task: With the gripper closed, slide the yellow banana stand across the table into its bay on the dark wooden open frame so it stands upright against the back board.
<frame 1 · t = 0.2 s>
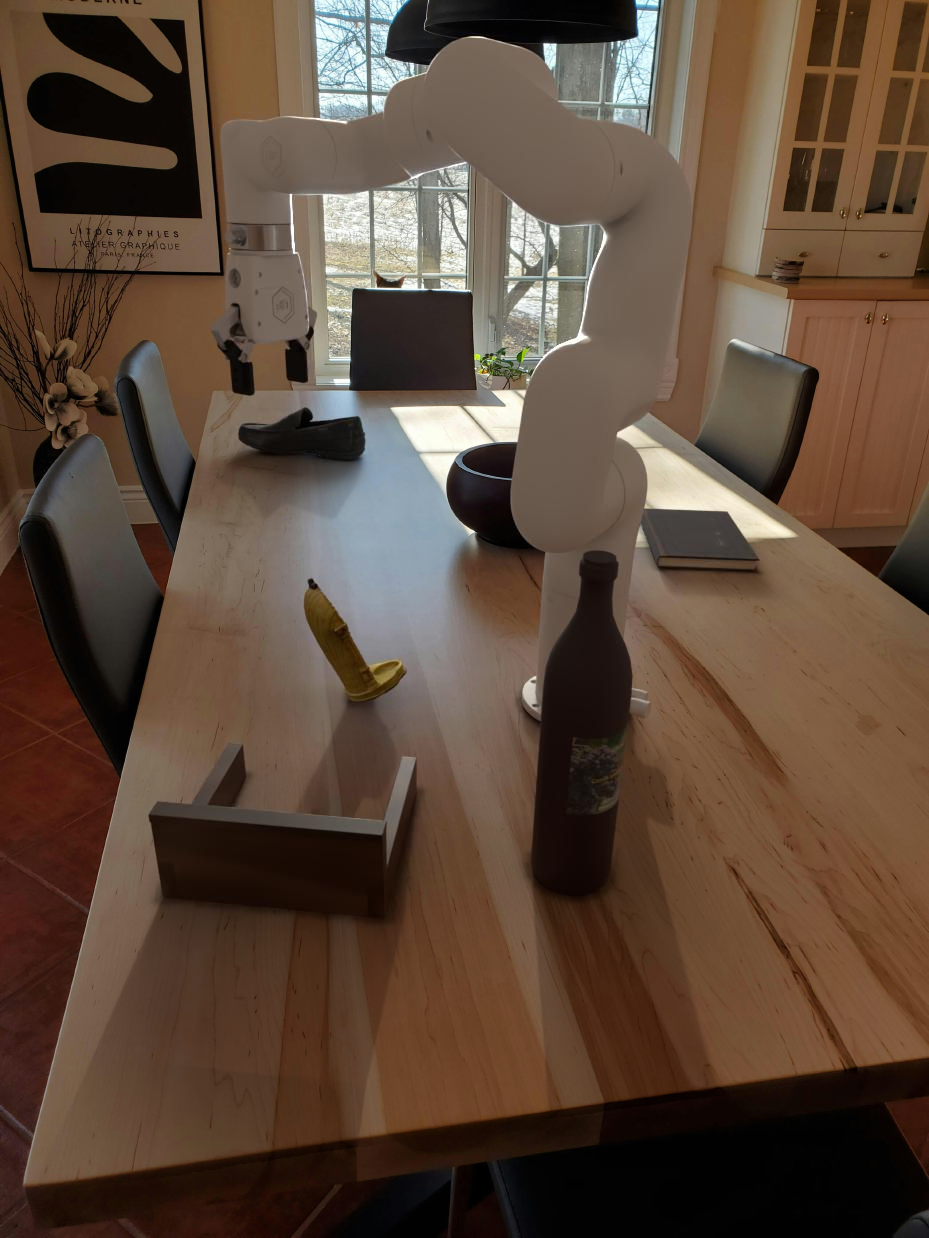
hand: (271, 387, 113), 31 cm above the table, tool pointing down, fingers open, 9 cm apart
hardcover book: (693, 545, 154), on the table
loafer: (303, 453, 200), on the table
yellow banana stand: (358, 697, 106), on the table
wine bottle: (569, 870, 80), on the table
dark wooden open frame: (302, 834, 83), on the table
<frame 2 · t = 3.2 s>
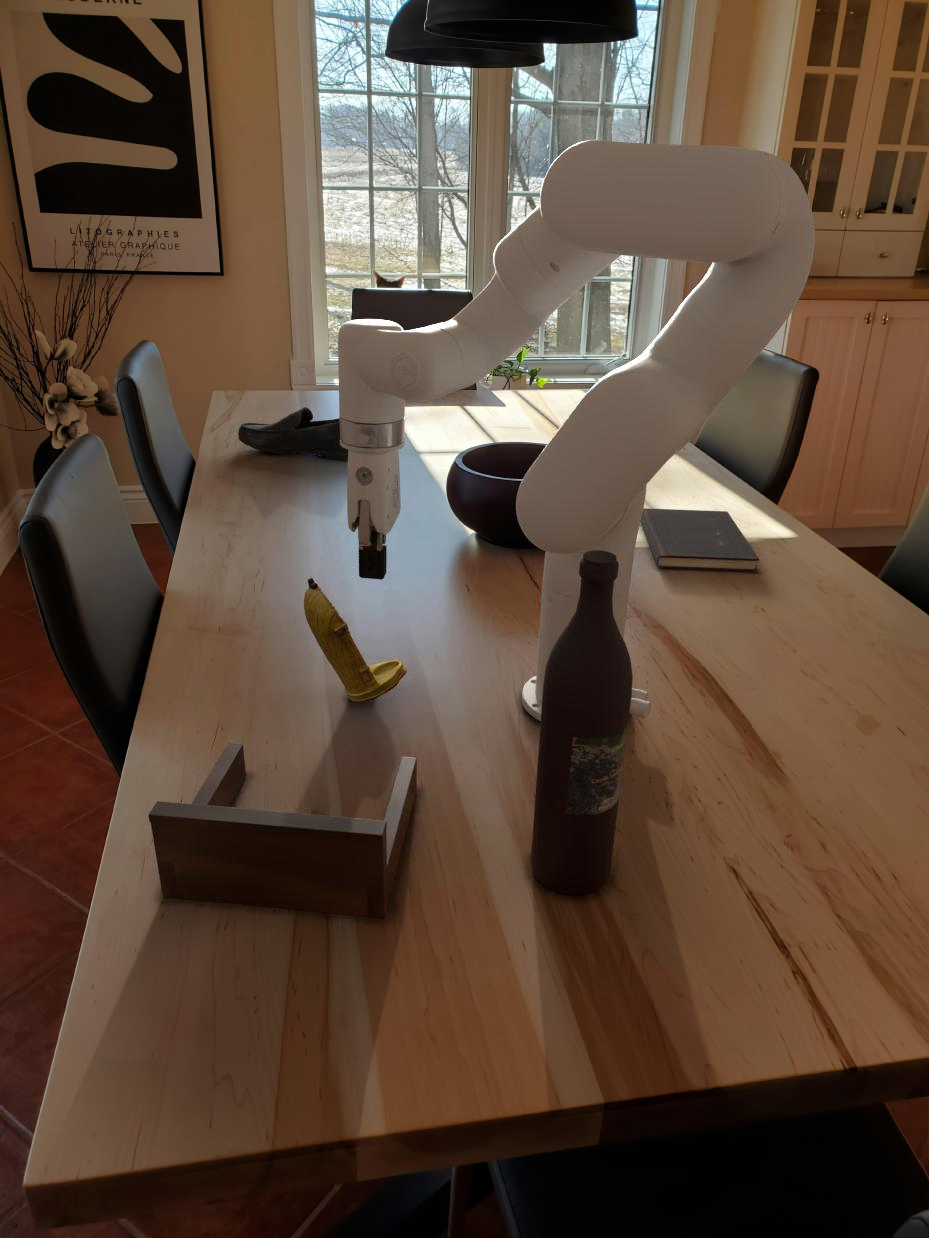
hand: (372, 575, 113), 10 cm above the table, tool pointing down, fingers closed
nothing on the table moved.
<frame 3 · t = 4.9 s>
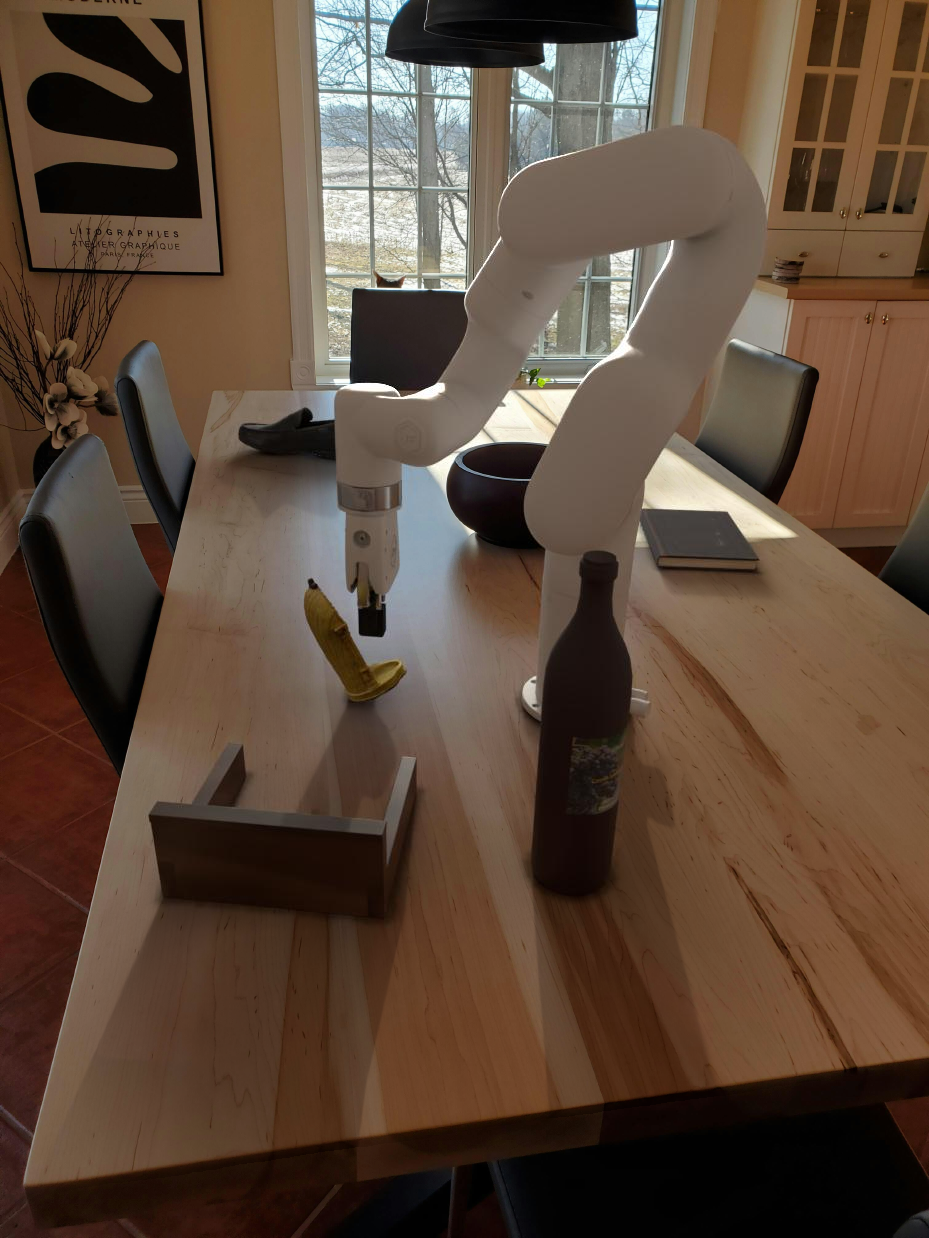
hand: (372, 633, 113), 4 cm above the table, tool pointing down, fingers closed
nothing on the table moved.
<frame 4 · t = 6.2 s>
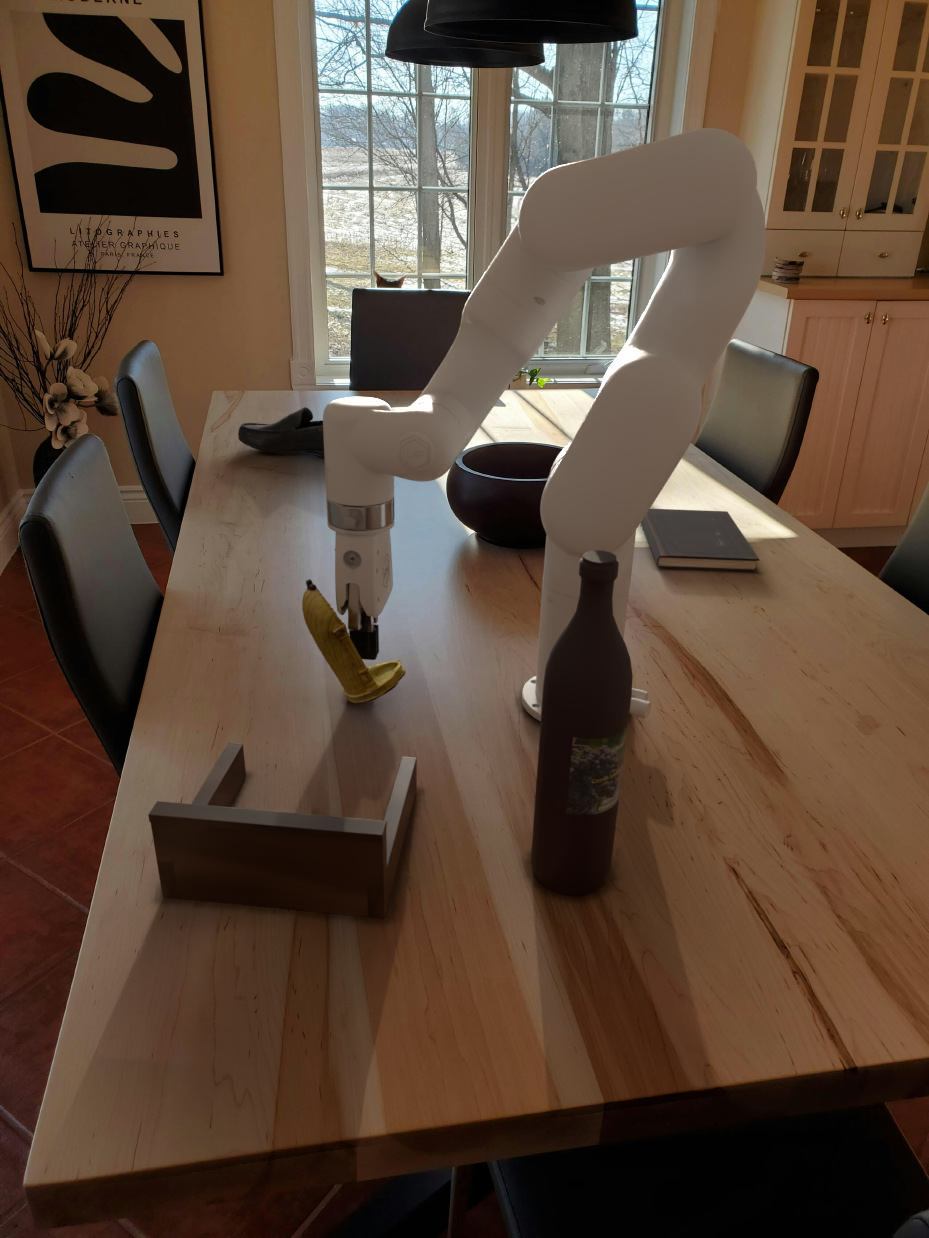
hand: (364, 655, 108), 3 cm above the table, tool pointing down, fingers closed
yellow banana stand: (357, 699, 106), on the table, touching gripper
everything else where it was.
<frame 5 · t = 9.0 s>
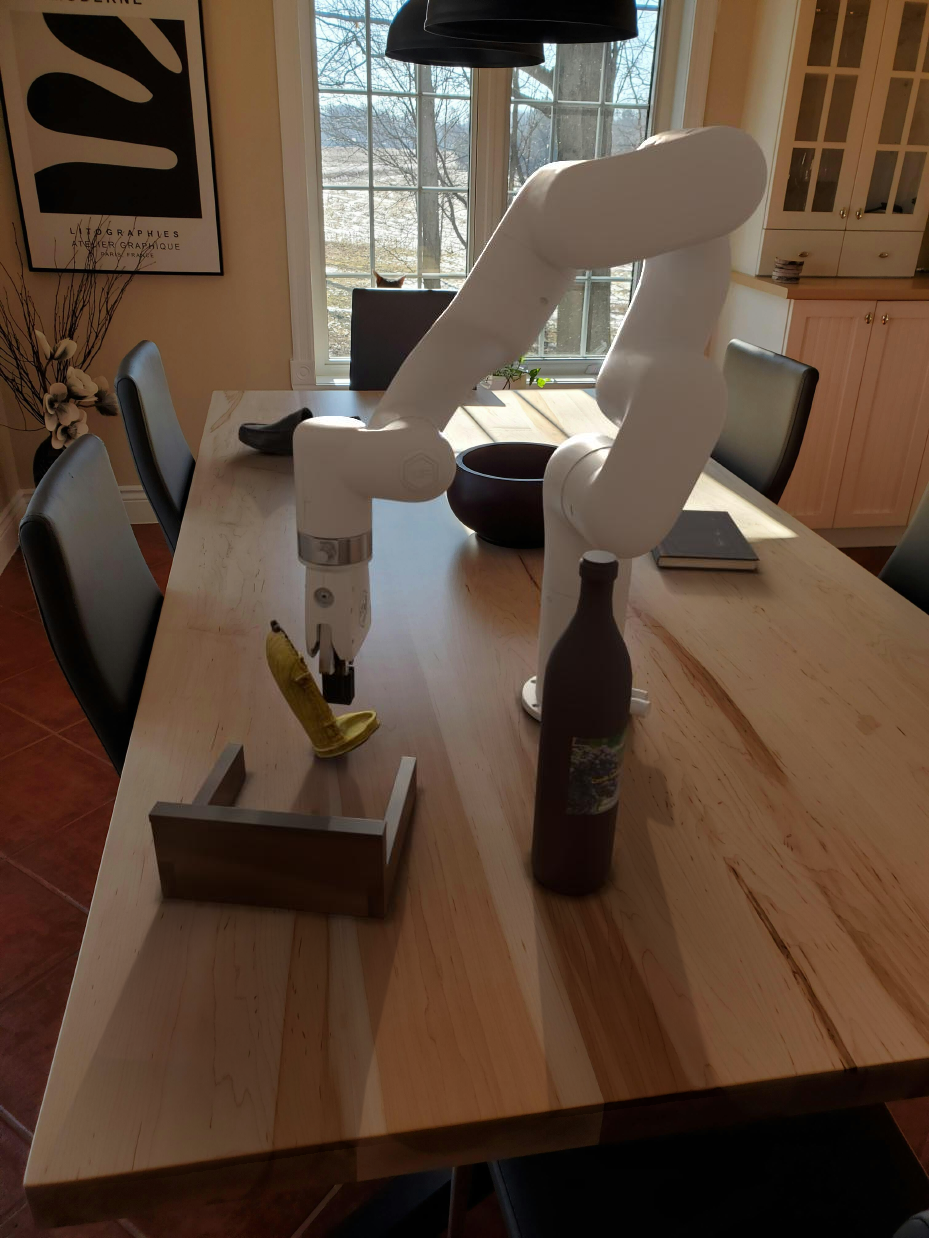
hand: (338, 700, 98), 4 cm above the table, tool pointing down, fingers closed
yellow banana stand: (327, 751, 96), on the table, touching gripper
everything else where it was.
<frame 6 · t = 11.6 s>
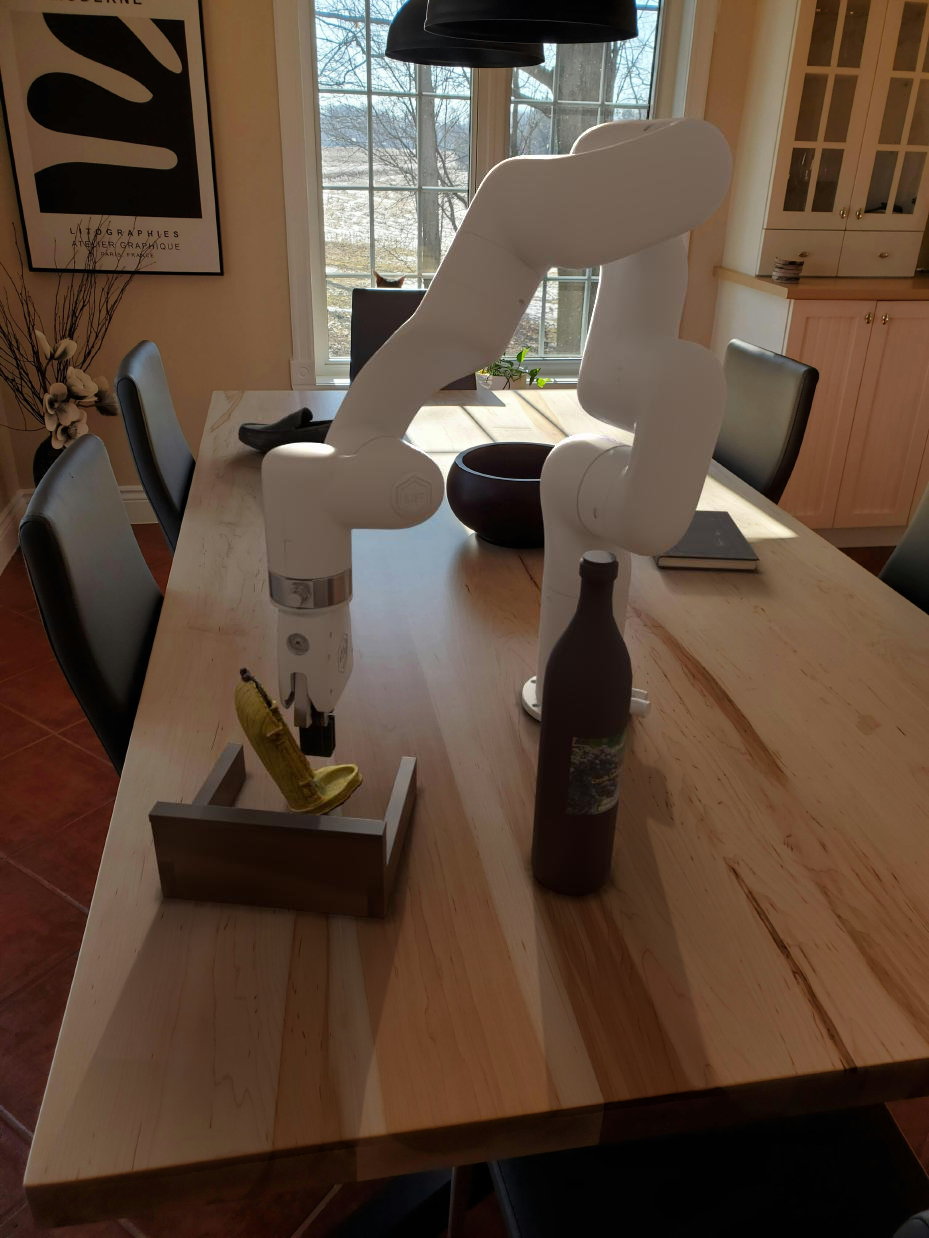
hand: (318, 751, 89), 4 cm above the table, tool pointing down, fingers closed
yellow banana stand: (304, 809, 87), on the table, touching gripper
everything else where it was.
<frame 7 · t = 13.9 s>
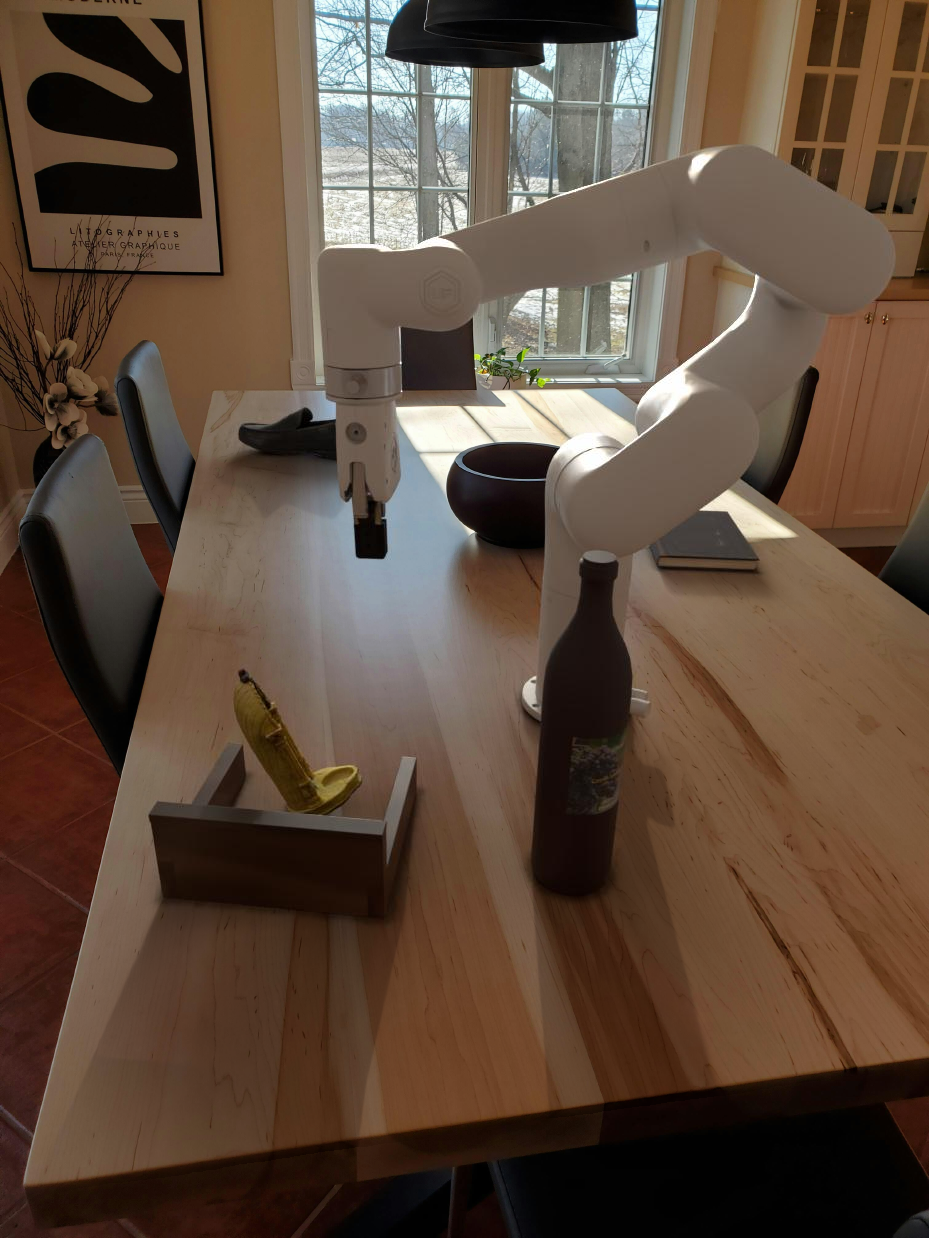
hand: (371, 555, 96), 19 cm above the table, tool pointing down, fingers closed
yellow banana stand: (303, 810, 87), on the table
everything else where it was.
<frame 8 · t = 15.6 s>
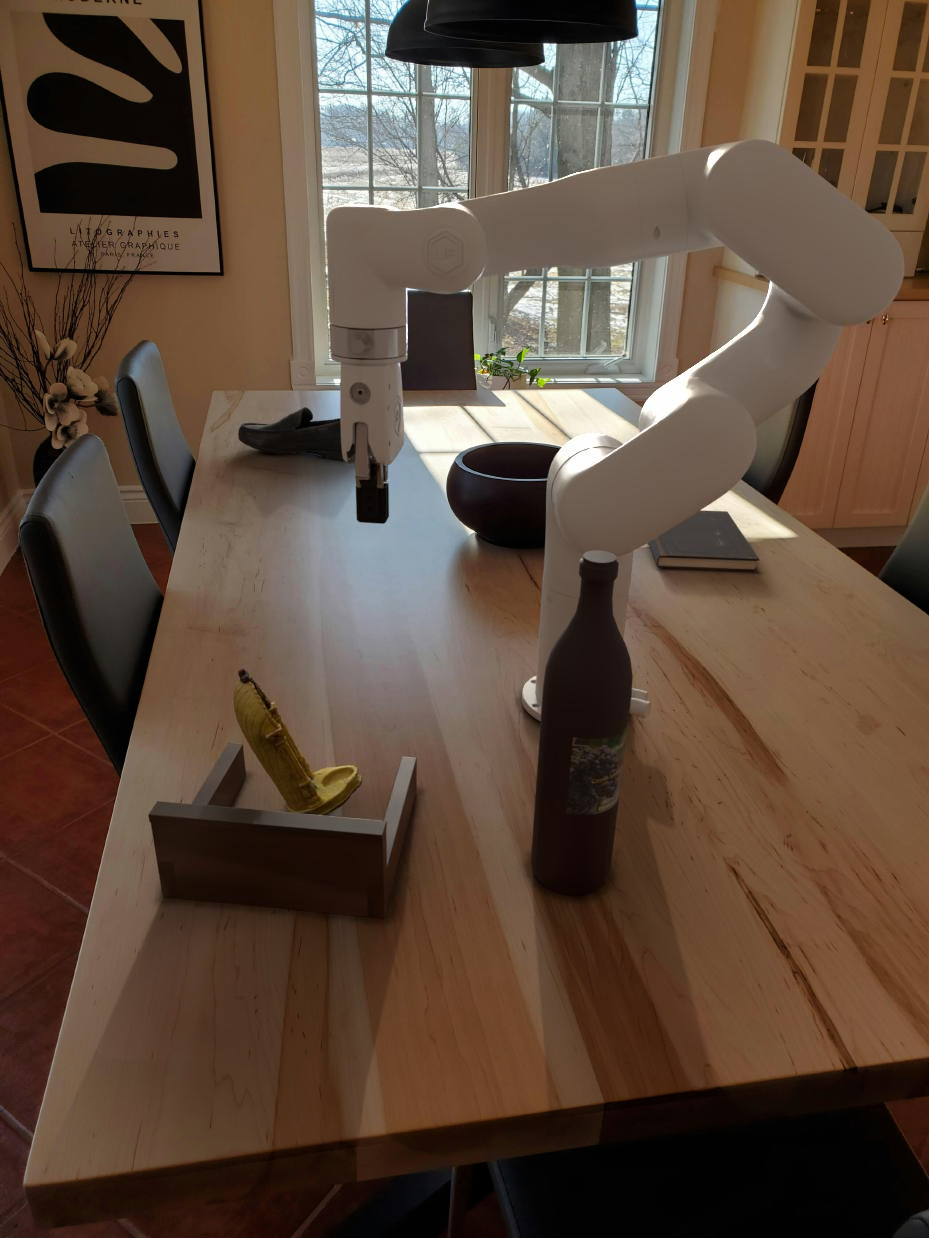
hand: (372, 520, 96), 22 cm above the table, tool pointing down, fingers closed
nothing on the table moved.
at the end: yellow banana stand inside the target area on the dark wooden open frame (3.8 cm from its centre), point 0.0 cm above the dark wooden open frame's base; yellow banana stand tilted 0° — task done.
